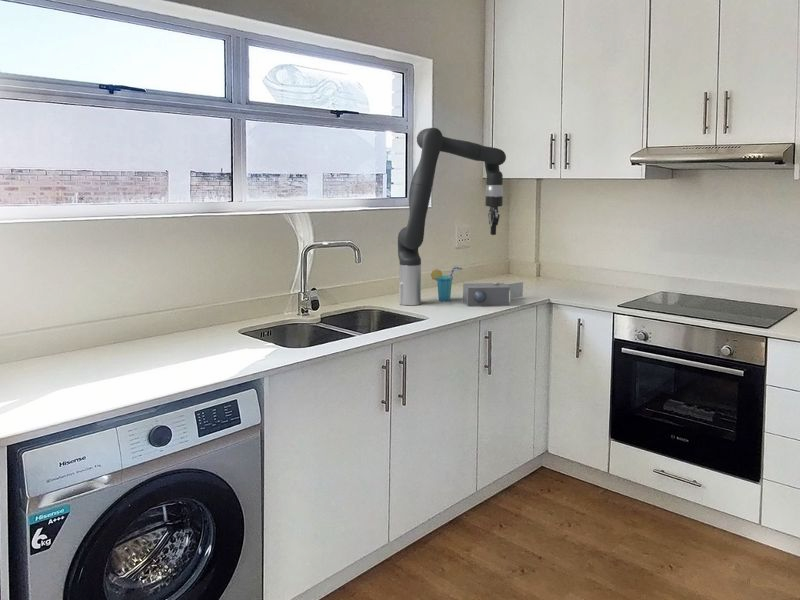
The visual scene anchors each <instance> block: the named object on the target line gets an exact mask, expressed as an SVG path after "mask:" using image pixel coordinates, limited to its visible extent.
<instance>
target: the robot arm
mask: <svg viewBox="0 0 800 600" xmlns="http://www.w3.org/2000/svg"><path fill="white" fill-rule="evenodd" d="M416 143H417V146H418V147H419V148H421V153H420V154H421V155H420V159H419V162H418V165H417V167H416V168H415V171H414V172H413V175H412V179H411V181H410V182H411V183H410V186H409V192H408V205H409V206H408V208H409V216H408V221H407V225H406V226H405V227H402V228H401V229H400V231H399V232H398V235H397V256H398V259H399V282H398V303H399V305H402V306H418V305H421V304H422V296H421V295H422V292H421V291H422V288H421V287H422V285H421V284H422V258H421V255H420V253H419V248H420V247H421V246H422V244H423V242H424V237H425V226H426V219H427V215H428V209H429V205H430V200H431V195H432V190H433V185H434V179H435V174H436V168H437V163H438V159H439V156H440V152H442V153H446V154H447V153H448V154H451V155H455V156H458V157H462V158H464V159H467V160H472V161H477V162H484V168H485V173H486V182H485V183H486V188H485V200H484V201H485V202H484V203H485V204H484V205H485V206H486V207H489V210H488V213H487V216H488V225H489V226H490V231H489V232H490V235H491V236H495V235H496V234H497V226H498V225H499V220H500V217H501V214H500V211H499V207H502V206H503V205H504V204H503V203H504V202H503V199H504V196H503V195H504V187H503V182H504V181H503V179H504V178H503V177H504V176H503V172H501V170H500V166H501V165H503V164H504V163H505V162H506V160H507V155H506V153H505V151H504V150H503V149H500V148H497V147H491V146H487V145H481V144H479V143H476V142H472V141H468V140H464V139H462V140H460V139H455V138H450V137H446V136H444V135H443V133H442V131H441V130H440V129H439V128H437V127H429V128H424V129H421V130H420V132H418V134H417V136H416Z"/></svg>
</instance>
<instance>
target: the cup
mask: <svg viewBox="0 0 800 600" xmlns="http://www.w3.org/2000/svg"><path fill="white" fill-rule="evenodd" d="M455 270H462V267H459V266H454V267H452V270H451V272H450V275H443V273H442V271H441V270H440V269H437V268H436V269H435V268H434V269H433V270H432V271H431V273H430V277H431V278H432V280H435V281H436V282H437V284H436V285H437V295H438V296H437V297H438V302H450V301H451V294H452V284H453V280H454V276H453V275H454V271H455Z"/></svg>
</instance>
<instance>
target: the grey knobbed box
mask: <svg viewBox="0 0 800 600" xmlns="http://www.w3.org/2000/svg"><path fill="white" fill-rule="evenodd" d="M506 284H507V283H504V282H498V281H494V282H483V283H482V282H480V283H479V282H475V283H473V282H472V283H471V282H469V283H468V282H467V283H462V302H463V303H464V304H465V305H466V306H467V307H493V306H494V307H503V306H504V307H505V306H507V307H508V306H510V303H511V299H510V287H509V286H507V285H506Z"/></svg>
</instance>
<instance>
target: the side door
mask: <svg viewBox="0 0 800 600" xmlns="http://www.w3.org/2000/svg"><path fill="white" fill-rule="evenodd" d="M505 284H506V285H507V286H509V287H510V300H513V299H518V298H523V296H524V282H523V281H517V282H509V283H505Z"/></svg>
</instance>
